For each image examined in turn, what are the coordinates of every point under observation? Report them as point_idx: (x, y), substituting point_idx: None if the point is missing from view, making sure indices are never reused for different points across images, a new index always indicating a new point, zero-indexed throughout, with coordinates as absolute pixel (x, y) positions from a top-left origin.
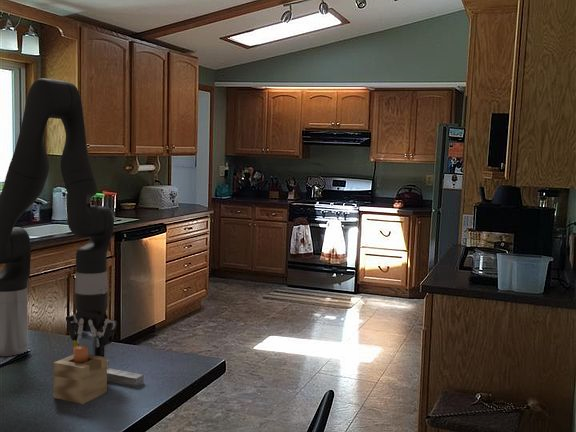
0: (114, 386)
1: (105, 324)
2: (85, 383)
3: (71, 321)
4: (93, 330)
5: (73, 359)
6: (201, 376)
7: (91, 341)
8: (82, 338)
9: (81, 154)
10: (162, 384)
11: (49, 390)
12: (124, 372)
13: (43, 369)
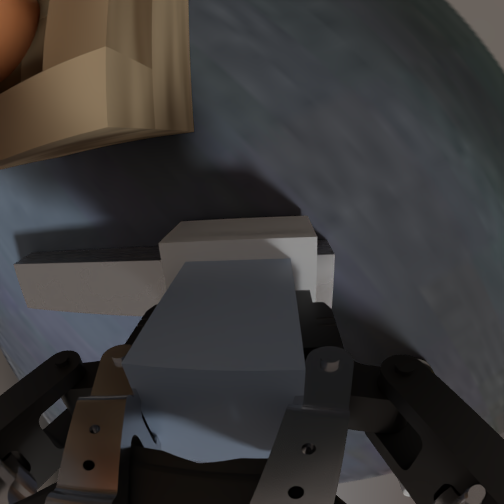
0: (77, 218)
1: (7, 491)
2: None
3: (478, 501)
4: (83, 451)
5: (52, 11)
6: (18, 378)
7: (137, 357)
8: (265, 379)
9: None
10: (13, 305)
11: (274, 28)
12: (78, 300)
13: (475, 231)
